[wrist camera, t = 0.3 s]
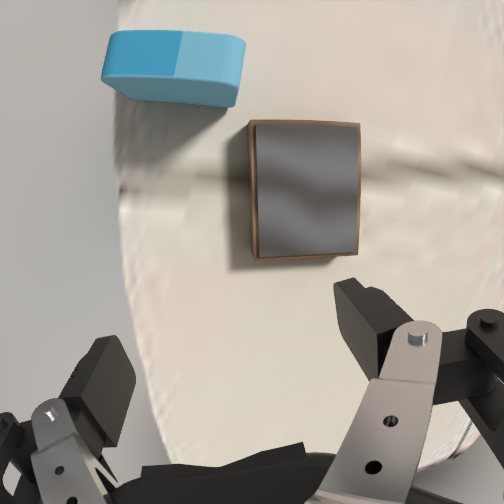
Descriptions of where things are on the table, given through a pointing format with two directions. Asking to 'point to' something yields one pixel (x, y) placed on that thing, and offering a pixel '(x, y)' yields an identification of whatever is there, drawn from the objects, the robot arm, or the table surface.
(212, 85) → the blue rectangular block
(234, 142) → the table surface
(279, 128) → the stand
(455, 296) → the table surface
